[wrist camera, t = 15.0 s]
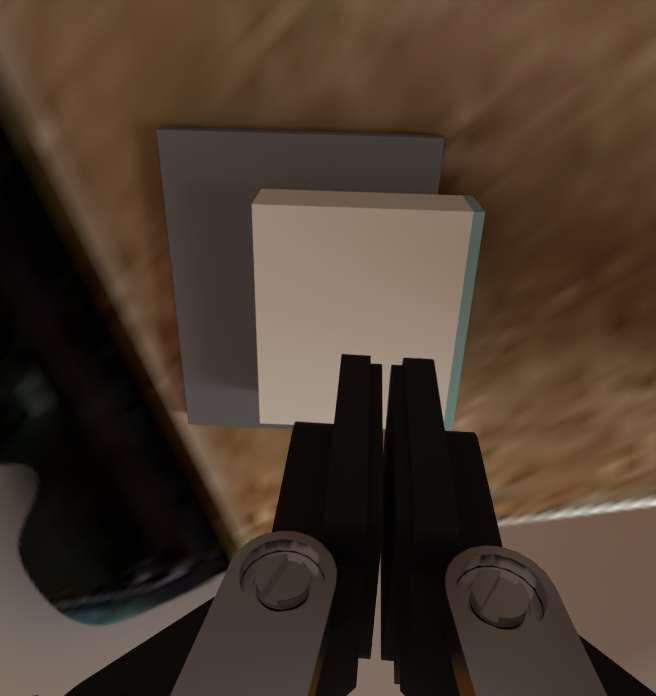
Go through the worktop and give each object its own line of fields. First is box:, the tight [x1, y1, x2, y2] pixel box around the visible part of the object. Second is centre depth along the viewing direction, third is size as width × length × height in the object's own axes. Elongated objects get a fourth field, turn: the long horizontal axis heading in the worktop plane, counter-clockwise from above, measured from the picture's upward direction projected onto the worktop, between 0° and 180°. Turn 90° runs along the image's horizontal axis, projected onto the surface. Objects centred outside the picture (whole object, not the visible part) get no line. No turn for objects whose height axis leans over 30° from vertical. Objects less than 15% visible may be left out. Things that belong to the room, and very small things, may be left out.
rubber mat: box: [156, 127, 444, 433], centre depth 19 cm, size 8×10×1 cm
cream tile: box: [252, 189, 485, 431], centre depth 18 cm, size 7×2×6 cm
